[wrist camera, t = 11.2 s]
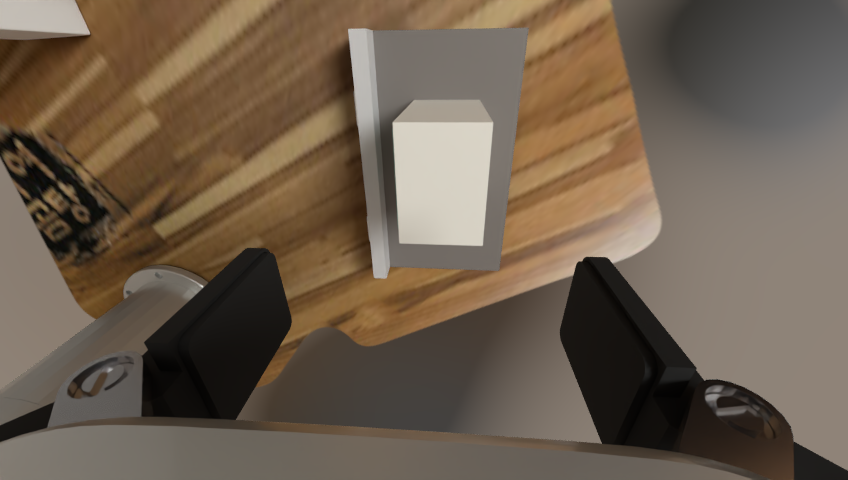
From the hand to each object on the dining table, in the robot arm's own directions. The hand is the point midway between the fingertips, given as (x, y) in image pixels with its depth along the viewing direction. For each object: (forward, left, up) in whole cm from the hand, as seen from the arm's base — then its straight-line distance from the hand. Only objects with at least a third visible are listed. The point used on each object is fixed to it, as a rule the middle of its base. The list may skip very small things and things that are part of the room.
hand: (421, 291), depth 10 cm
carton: (0, 0, -19) cm, 19 cm away
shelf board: (-2, 0, -20) cm, 20 cm away
